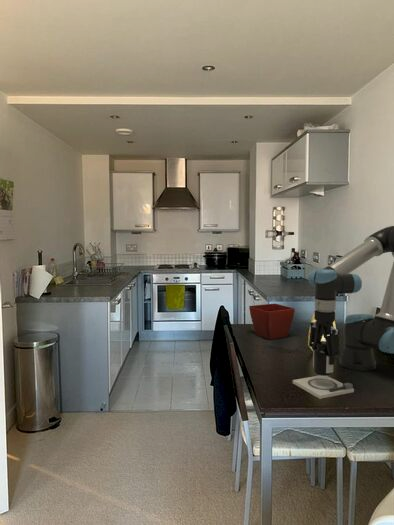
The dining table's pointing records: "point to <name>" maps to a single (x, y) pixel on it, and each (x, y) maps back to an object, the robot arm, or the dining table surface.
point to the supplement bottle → (320, 359)
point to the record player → (323, 386)
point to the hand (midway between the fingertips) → (322, 369)
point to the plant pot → (271, 320)
